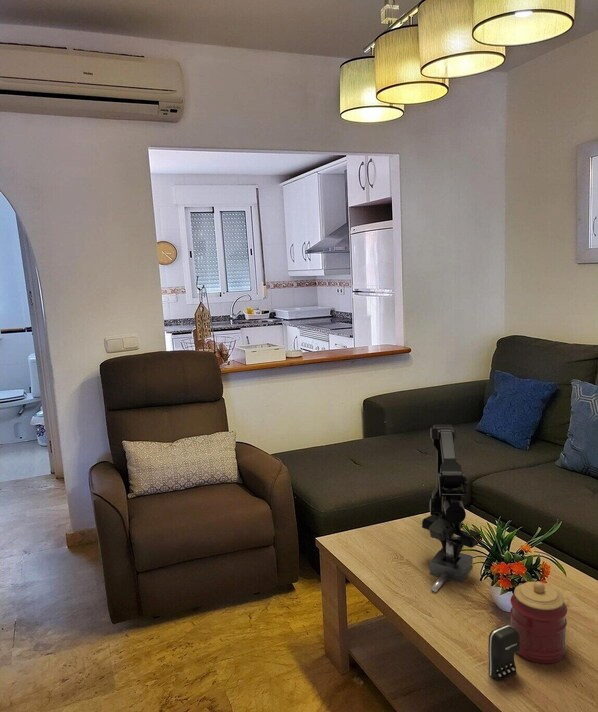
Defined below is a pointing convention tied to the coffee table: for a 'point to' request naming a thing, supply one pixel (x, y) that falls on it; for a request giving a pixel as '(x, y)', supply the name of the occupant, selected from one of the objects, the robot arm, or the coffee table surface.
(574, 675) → the coffee table surface
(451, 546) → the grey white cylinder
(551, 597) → the canister
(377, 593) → the coffee table surface
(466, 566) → the chuck block
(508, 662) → the battery charger
